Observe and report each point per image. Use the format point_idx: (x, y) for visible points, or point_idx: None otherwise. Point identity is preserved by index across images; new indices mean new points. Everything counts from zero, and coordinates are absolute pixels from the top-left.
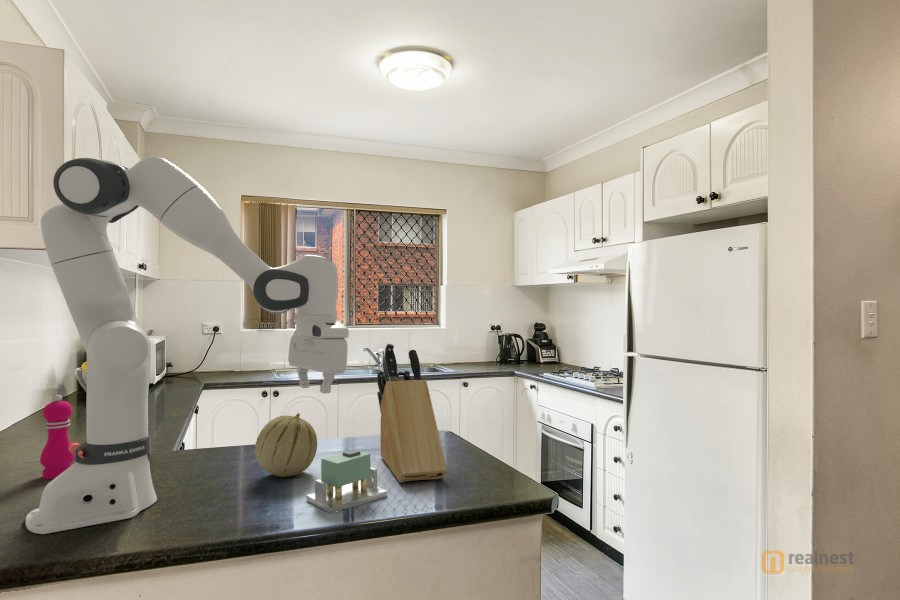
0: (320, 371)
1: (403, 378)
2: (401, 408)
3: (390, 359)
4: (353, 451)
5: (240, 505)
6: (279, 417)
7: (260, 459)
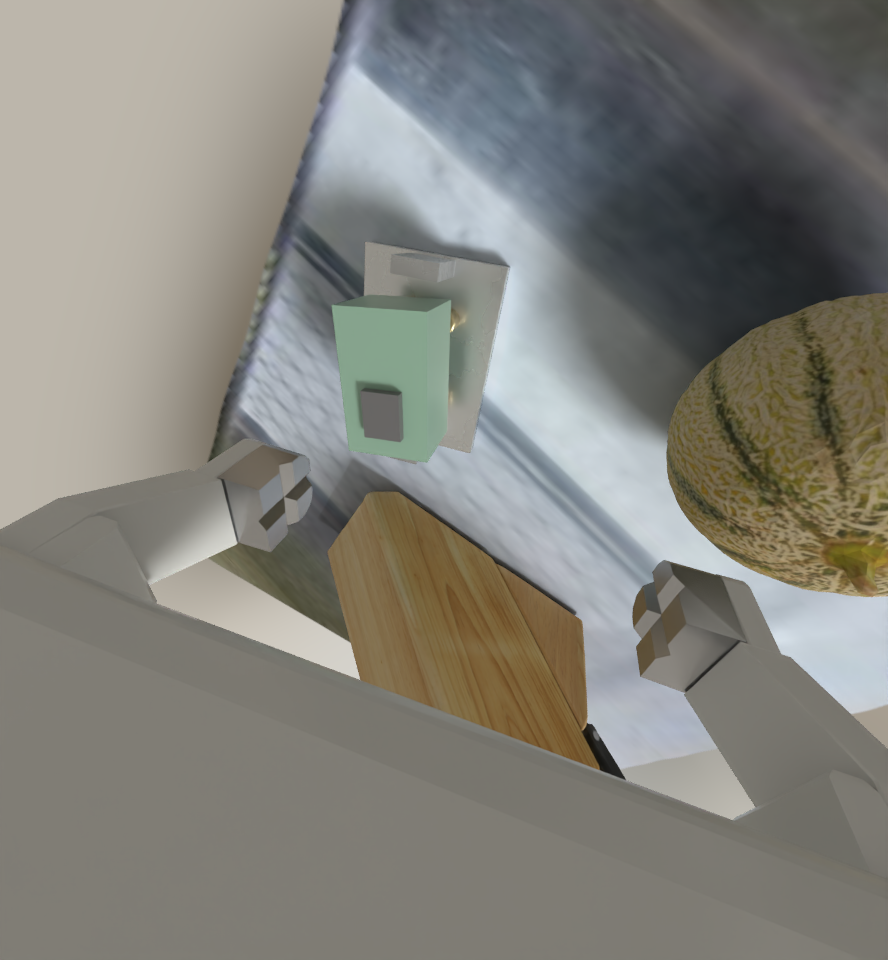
0: (14, 552)
1: None
2: None
3: None
4: (380, 424)
5: (712, 32)
6: None
7: None
